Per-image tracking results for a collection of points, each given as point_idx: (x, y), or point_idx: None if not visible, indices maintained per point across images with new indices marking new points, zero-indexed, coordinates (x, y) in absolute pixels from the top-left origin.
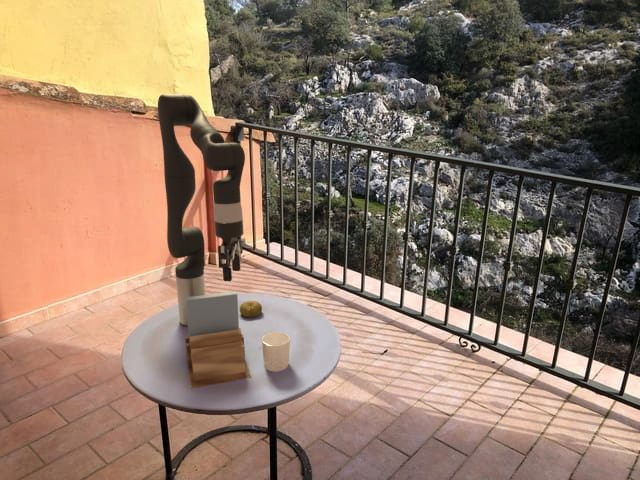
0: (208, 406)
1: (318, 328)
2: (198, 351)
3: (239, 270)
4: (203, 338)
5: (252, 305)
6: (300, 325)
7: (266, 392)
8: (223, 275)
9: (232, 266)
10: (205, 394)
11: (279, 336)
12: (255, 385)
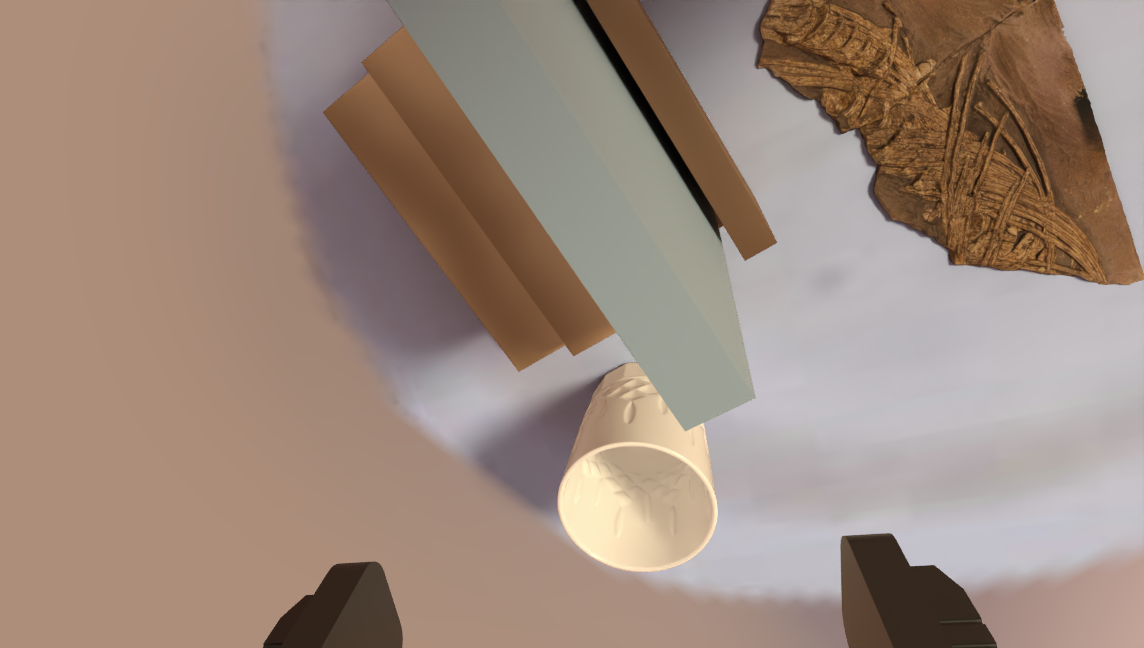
0: (312, 230)
1: (1093, 511)
2: (370, 131)
3: (847, 631)
4: (435, 132)
5: None
6: (1134, 419)
7: (477, 412)
8: (297, 629)
9: (867, 589)
10: (372, 180)
11: (709, 496)
12: (505, 359)
